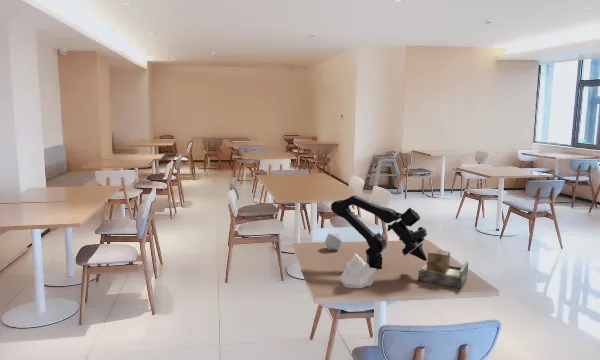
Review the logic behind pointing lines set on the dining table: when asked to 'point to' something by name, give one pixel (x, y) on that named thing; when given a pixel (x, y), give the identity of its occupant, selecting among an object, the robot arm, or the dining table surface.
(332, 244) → the die
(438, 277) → the trap box
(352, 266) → the white faceted rock
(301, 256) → the dining table surface
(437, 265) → the walnut block
